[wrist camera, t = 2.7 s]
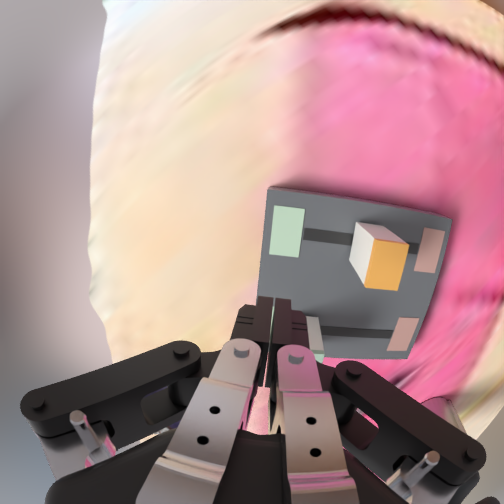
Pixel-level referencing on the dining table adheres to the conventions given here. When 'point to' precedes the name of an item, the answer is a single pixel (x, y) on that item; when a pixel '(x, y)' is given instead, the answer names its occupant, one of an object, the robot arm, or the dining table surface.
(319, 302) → the dual slider panel
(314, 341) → the block
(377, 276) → the block
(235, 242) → the dining table surface
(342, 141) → the dining table surface
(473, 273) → the dining table surface
